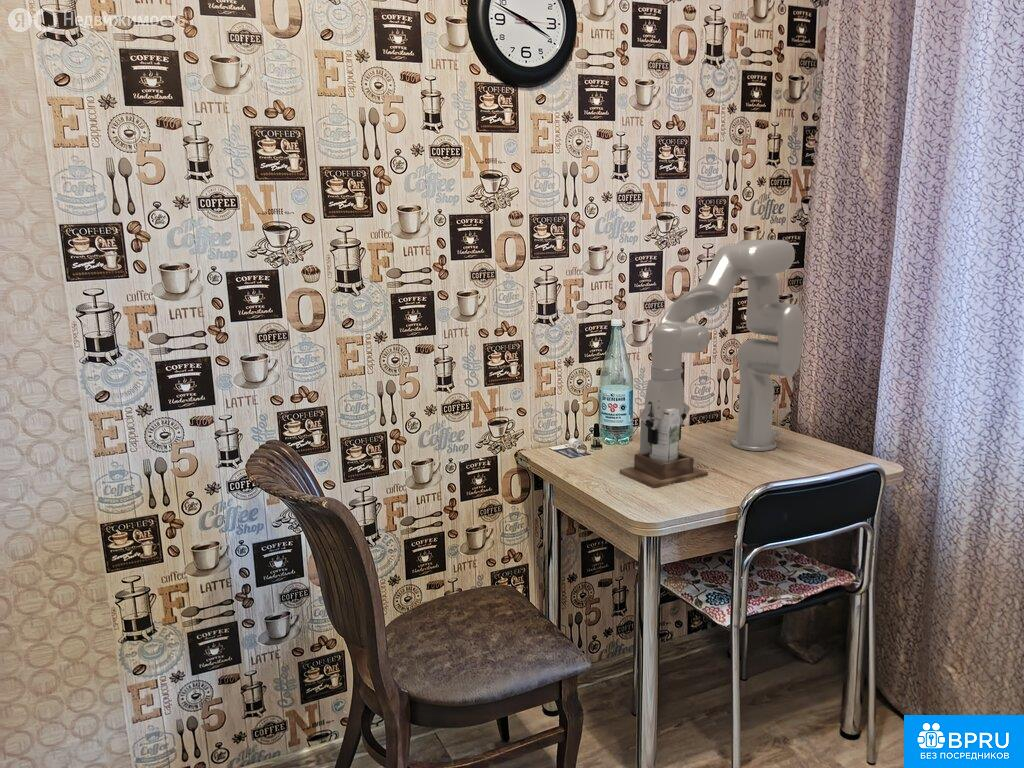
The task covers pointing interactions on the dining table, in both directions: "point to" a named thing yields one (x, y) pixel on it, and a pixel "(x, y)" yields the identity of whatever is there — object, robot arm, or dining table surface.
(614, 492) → the dining table surface
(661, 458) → the syrup box
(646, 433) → the cup
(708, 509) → the dining table surface
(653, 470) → the box
